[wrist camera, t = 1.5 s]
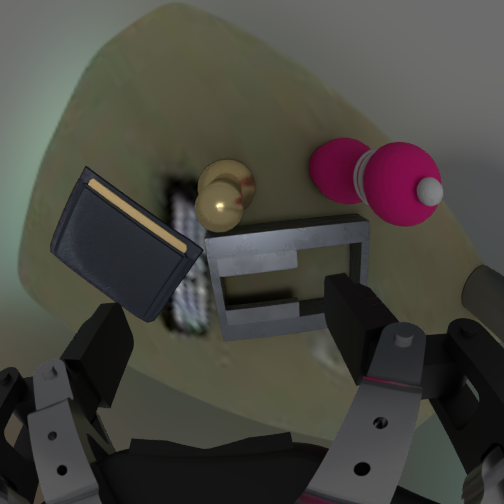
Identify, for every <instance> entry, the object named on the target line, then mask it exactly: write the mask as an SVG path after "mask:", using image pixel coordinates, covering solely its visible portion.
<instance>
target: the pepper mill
mask: <svg viewBox="0 0 504 504" xmlns="http://www.w3.org/2000/svg"><path fill="white" fill-rule="evenodd" d="M309 172H310V176H311V179H312V181H313V182H314V184H315V185H316V186H317V187H318V188H319V189H320V191H321V192H322V193H323V194H324V195H325V196H326V197H328V198H329V199H331V200H333V201H335V202H338V203H343V204H355V203H359V202H362V201H363V202H364V203H365V204H367V205H368V206H370V207H371V208H372V210H373V211H374V213H376V214H377V215H378V216H379V217H380V218H381V219H383V220H384V221H386V222H388V223H390V224H393V225H397V226H413V225H417V224H419V223H421V222H423V221H425V220H426V219H427V218H428V217H430V216H431V215H432V213H433V212H434V211H435V209H436V207H437V205H438V203H440V201H441V199H442V197H443V188H442V186H441V177H440V173H439V170H438V168H437V166H436V164H435V162H434V160H433V159H432V158H431V156H430V155H429V154H428V153H426V152H425V151H424V150H422V149H421V148H419V147H417V146H415V145H413V144H409V143H405V142H394V143H389V144H386V145H384V146H382V147H380V148H375V149H372V150H371V149H370V148H369V147H368V146H366V145H365V144H363V143H362V142H360V141H358V140H354V139H350V138H338V139H334V140H331V141H329V142H328V143H326V144H325V145H322V146H321V147H319V148H318V149H317V150H316V151H315V152H314V153H313V155H312V157H311V159H310V164H309Z"/></svg>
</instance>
